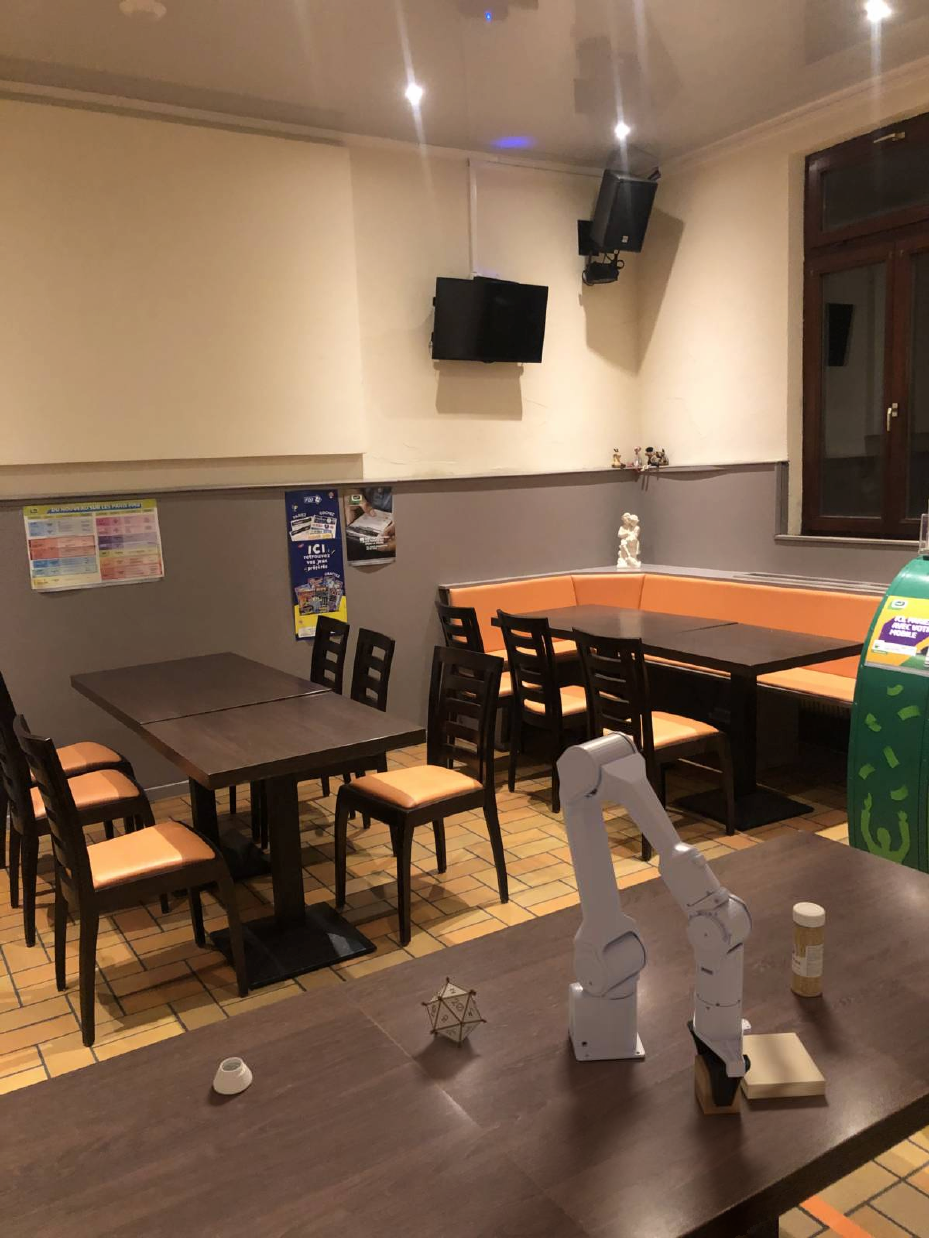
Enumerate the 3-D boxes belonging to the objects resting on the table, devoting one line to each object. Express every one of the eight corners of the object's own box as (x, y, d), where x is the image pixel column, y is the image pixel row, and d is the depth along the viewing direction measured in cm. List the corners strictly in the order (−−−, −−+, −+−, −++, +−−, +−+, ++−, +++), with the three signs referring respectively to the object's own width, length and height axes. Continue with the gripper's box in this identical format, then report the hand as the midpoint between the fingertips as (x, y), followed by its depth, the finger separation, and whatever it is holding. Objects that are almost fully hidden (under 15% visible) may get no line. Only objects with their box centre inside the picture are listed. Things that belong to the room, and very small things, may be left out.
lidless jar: (206, 1092, 123) (238, 1100, 122) (204, 1072, 123) (236, 1080, 121) (228, 1068, 128) (259, 1076, 126) (226, 1049, 127) (257, 1056, 126)
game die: (469, 1058, 134) (509, 1013, 131) (429, 1067, 128) (470, 1019, 125) (438, 1005, 140) (476, 961, 137) (399, 1011, 133) (437, 964, 131)
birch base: (747, 1098, 118) (748, 1084, 118) (723, 1049, 128) (723, 1036, 128) (824, 1094, 119) (825, 1080, 118) (794, 1045, 129) (794, 1032, 128)
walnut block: (704, 1113, 116) (705, 1078, 115) (694, 1089, 120) (694, 1055, 120) (740, 1111, 116) (740, 1076, 115) (728, 1087, 121) (729, 1053, 120)
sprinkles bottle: (785, 982, 144) (787, 902, 141) (813, 980, 144) (816, 899, 142) (798, 999, 139) (801, 916, 137) (827, 997, 140) (831, 914, 137)
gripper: (771, 1026, 109) (768, 1129, 111) (731, 960, 123) (729, 1052, 125) (712, 1029, 108) (710, 1132, 111) (678, 963, 123) (678, 1055, 125)
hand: (717, 1090), depth 118 cm, fingers closed on walnut block, 4 cm apart
